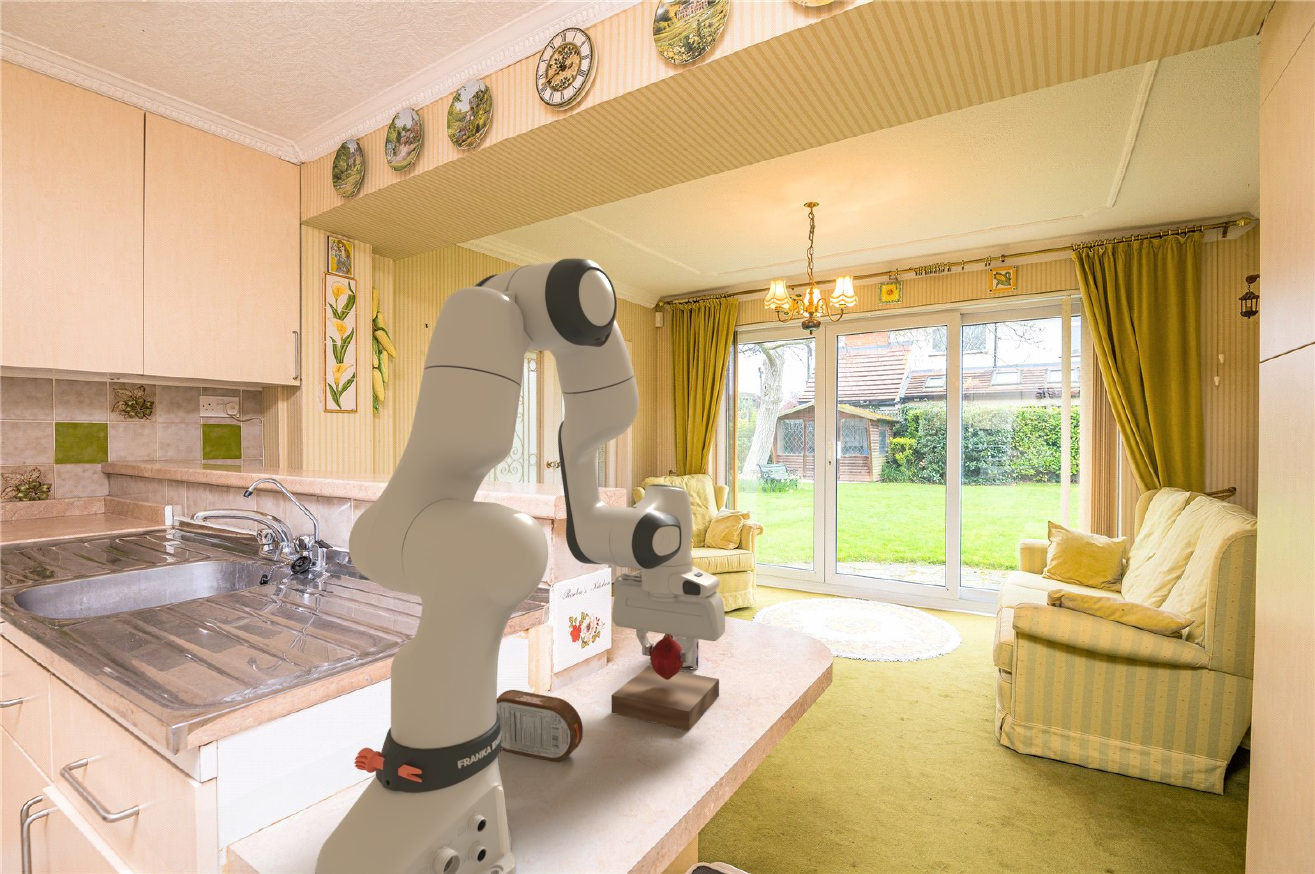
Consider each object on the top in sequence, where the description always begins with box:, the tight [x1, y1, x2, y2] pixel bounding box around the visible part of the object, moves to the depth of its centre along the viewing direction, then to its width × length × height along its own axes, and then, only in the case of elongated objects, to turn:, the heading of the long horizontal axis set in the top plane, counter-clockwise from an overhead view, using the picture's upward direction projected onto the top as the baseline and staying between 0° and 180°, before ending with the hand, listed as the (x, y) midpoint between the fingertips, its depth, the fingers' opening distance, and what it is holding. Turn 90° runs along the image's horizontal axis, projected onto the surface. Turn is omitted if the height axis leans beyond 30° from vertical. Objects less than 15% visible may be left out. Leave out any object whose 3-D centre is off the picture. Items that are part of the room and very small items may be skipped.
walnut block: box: [610, 665, 720, 731], centre depth 102 cm, size 14×14×3 cm
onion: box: [649, 634, 684, 680], centre depth 103 cm, size 6×6×8 cm
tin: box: [497, 689, 584, 762], centre depth 86 cm, size 15×3×8 cm, turn 70°
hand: (666, 658), depth 102 cm, fingers closed on onion, 6 cm apart
